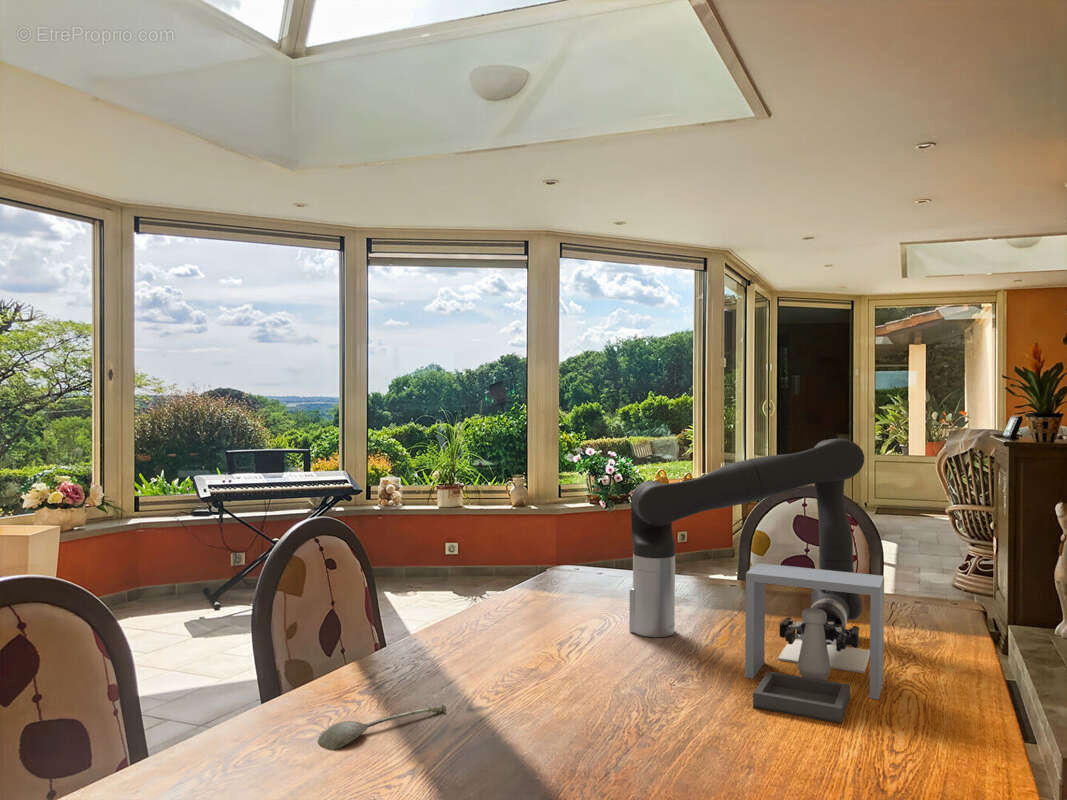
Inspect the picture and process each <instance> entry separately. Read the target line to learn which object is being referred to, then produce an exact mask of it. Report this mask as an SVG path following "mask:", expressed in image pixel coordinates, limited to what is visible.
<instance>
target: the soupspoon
mask: <svg viewBox="0 0 1067 800" xmlns="http://www.w3.org/2000/svg"><path fill="white" fill-rule="evenodd" d="M446 712H447V705H446V704H445V703H442V704H441V705H438V706H433V707H430V706H428V707H427V708H422V709H417V710H411V711H407V712H403V713H399V714H395V715H391V716H386V717H384V718H379V719H376V720H373V721H371V722H368V723H363V722H360V721H355V720H345V721H341V722H337V723H335V724H333V725H331V726H329V727H328V728H326V729H325V730H324V731H323V732H322V733H321V734H320V735H319V737H318V739H317V744H318V746H319V747H321V748H323V749H325V750H329V751H336V750H339V749H341V748H343V747H344V746H346V745H348V744H350V743H351V742H352V741H354V740H356V739H357V738H359V737H360V736H361V735H363V733H365V732H366V731H367V730H368V728H371V727H375V726H376V725H379V724H382V723H385V722H389V721H392V720H396V719H400V718H404V717H408V716H412V715H418V714H421V713H428V714H430V713H434V714H436V713H438V714H440V713H443V714H446Z"/></svg>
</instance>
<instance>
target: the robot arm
mask: <svg viewBox="0 0 1067 800" xmlns="http://www.w3.org/2000/svg"><path fill="white" fill-rule="evenodd" d="M864 463H865V454H864V451H863V449H862V448H861V447H860V446H859V445H858V444H857V443H856V442H854V441H851V440H849V439H846V438H839V437H838V438H830V439H824V440H821V441H819V442H818V443H817V444H816V445H815V446H814V447H813V448H810V449H807V450H804V451H799V452H795V453H786V454H776V455H767V456H760V457H755V458H749V459H744V460H739V461H736V462H731V463H729V464H725V465H722V466H721V467H718V468H716V469H714V470H711V471H710V472H708V473H706V474H704V475H702V476H699V477H697V478H696V477H695V478H693V479H688V480H684V481H677V482H671V483H663V482H660V481H658V480H646V481H643V482H640V484H639V485H637V486H636V487H635V489H634V490H633V492H632V496H631V502H630V526H631V527H630V530H631V533H630V535H631V541H632V587H631V588H629V608H628V609H629V610H628V611H629V612H628V613H629V618H628V619H629V622H628V624H629V625H628V626H629V627H628V628H629V631H628V632H630V633H634V634H636V635H639V636H642V637H647V638H664V637H665V638H666V637H670V636H673V635H674V634H675V629H676V628H675V626H676V625H675V624H676V621H675V613H676V611H675V610H676V603H675V602H676V589H675V588H676V543H675V540H674V535H673V524H672V523H674V522H676V521H679V520H681V519H684V518H688V517H690V516H693V515H696V514H699V513H702V512H708V511H712V510H719V509H725V508H729V507H734V506H739V505H744V504H745V505H746V504H749V503H752V502H756V501H761V500H763V499H767V498H771V497H775V496H777V495H781V494H784V493H787V492H789V491H792V490H795V489H798V488H802V487H805V486H809V485H813V484H814V489H815V495H816V505H817V516H818V539H819V540H818V542H819V543H818V547H819V548H818V550H819V551H818V555H819V556H818V557H819V559H818V561H819V562H818V563H819V569H821V570H831V571H840V572H850V573H855V572H854V571H855V570H854V549H853V547H854V543H853V542H854V541H853V540H854V539H853V533H852V532H853V531H852V528H851V525H850V521H849V517H848V514H847V510H846V505H845V504H846V503H845V495H844V494H845V491H844V490H845V480H849V479H852V478H854V477H855V476H857V475H858V473H860V471H861V470H862V468H863V467H864ZM810 602H811V606H810V608H818V609H821V610H823V611H824V612H825V613H826V615H827V621H826V623H825V624H823V626H824V632H825V638H826V644H827V645H836V651H840V652H841V649H845V648H846V647H848V646H849V645H850V646H851V648H859V642H860V627H859V626H858V625H857V626H856V625H853V626H852V627H849V629H847V624H848V621H850V620H851V621H854V620H856V619H858V618H859V617H860V615H862V611H863V600H862V597H861V594H856V593H847V592H839V591H830V590H821V589H813V590H812V592H811V596H810ZM805 626H806V622H804V621H803V619H802V620H799V621H796V622H795V621H794V620H793V618H792V617H789V616H787V617H785V618H784V619H782V621H781V622H780V623H779V626H778V627H779V630H778V631H779V632H778V635H779V637H780V638H782V639H783V638H784V640H785V642H787V643H788V644H793V642H794V641H795V640H803V635H804V631H805Z"/></svg>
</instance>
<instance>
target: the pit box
mask: <svg viewBox="0 0 1067 800" xmlns="http://www.w3.org/2000/svg"><path fill="white" fill-rule="evenodd" d="M850 692H851V684H848V683H843V682H836V681H832V680H831V681H830V680H826V681H825V680H819V679H813V678H807V677H801V675H800V676H799V675H793V674H787V673H781V672H777V671H775V672H774V671H766V673H765V674H764V676H763V677H762V678H761V681H760V682H759V683H758V684H757V687H756V688H755V689H754V691H753V692H752V709H753V708H754V709H759V710H763V711H769V712H773V713H774V712H776V713H781V714H785V715H790V716H791V715H792V716H796V717H797V716H798V717H801V718H807V719H813V720H816V721H817V720H819V721H825V722H829V723H835V724H840V725H842V723H843V720H844V717H845V714H846V711H847V708H848V706H849V702H850V698H851V693H850Z"/></svg>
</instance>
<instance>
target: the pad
mask: <svg viewBox="0 0 1067 800" xmlns="http://www.w3.org/2000/svg"><path fill="white" fill-rule="evenodd" d="M801 645H802V640H799V639H795V641H794V642H793V644H788V642H787V644H786V645H785V647H784V648H783V649H782V651H781V652H780V653H779V655H778V657H777V660H778V661H785V662H788V663H795V664H798V659H799V654H800V650H801ZM827 649H828V655H829V661H830V667H831V669H834V670H841V671H848V672H853V673H861V674H865V673H866V670H867V666H868V664H869V662H870V649H863V648H859V647H857V648H853V647H850V646H847V647H846V648H845V649H841V652H840V651H836V645H833V644H830V645H827Z"/></svg>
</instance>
